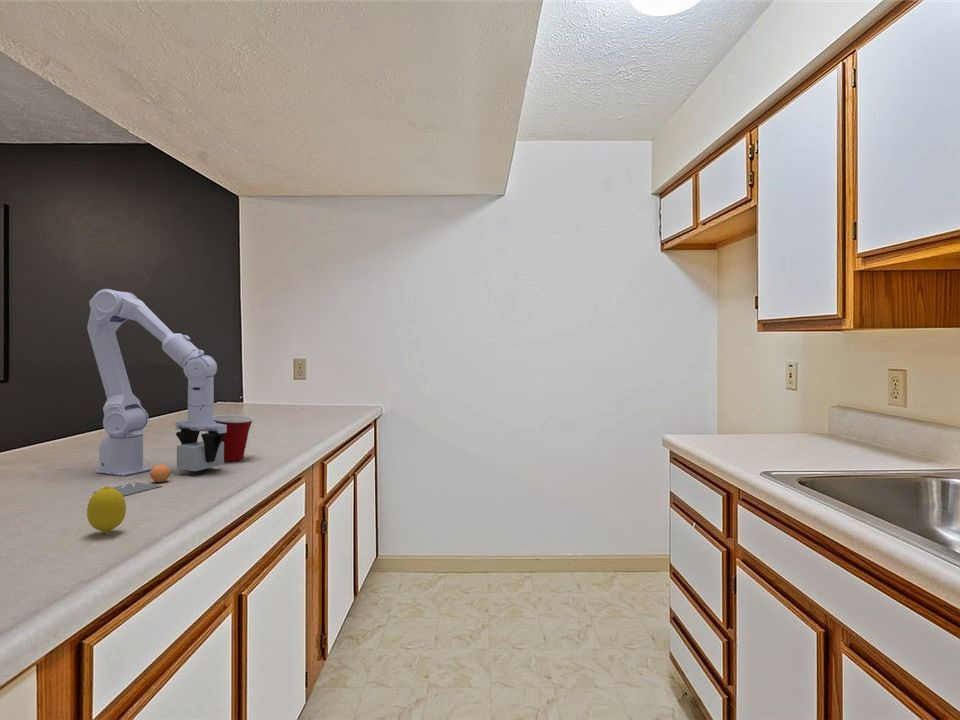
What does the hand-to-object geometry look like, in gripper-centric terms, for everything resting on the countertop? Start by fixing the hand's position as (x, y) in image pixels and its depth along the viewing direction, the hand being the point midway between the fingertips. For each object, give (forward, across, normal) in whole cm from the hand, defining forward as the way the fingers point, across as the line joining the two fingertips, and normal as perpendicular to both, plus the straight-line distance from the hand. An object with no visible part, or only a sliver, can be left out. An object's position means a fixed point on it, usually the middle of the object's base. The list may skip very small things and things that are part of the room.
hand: (200, 460), depth 147 cm
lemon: (+3, -23, +42) cm, 48 cm away
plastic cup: (+3, +4, -14) cm, 15 cm away
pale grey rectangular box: (+2, 0, 0) cm, 2 cm away
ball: (+1, 0, +12) cm, 12 cm away
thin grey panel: (+3, 0, +20) cm, 20 cm away
